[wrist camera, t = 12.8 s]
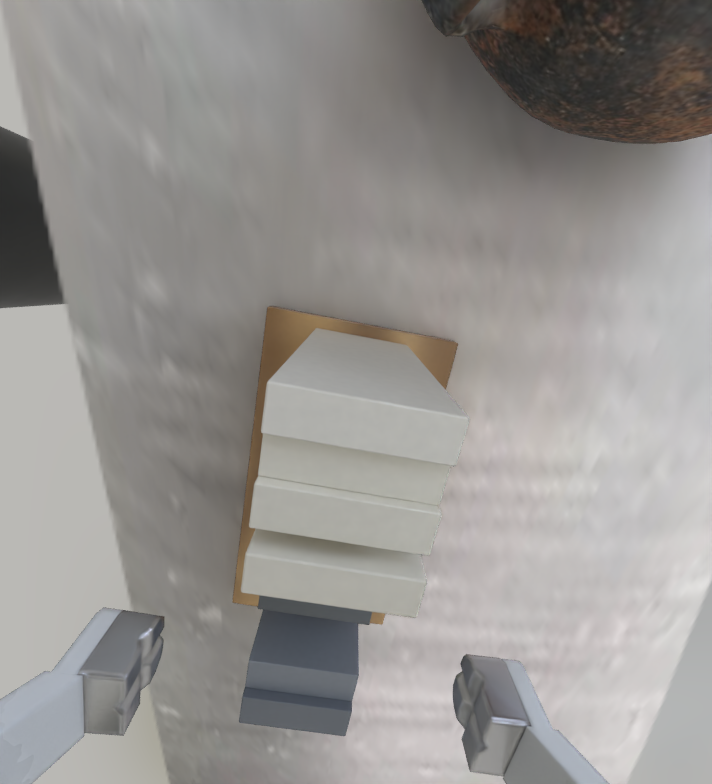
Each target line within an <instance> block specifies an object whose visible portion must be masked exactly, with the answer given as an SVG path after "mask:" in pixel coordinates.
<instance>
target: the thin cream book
mask: <svg viewBox="0 0 712 784" xmlns="http://www.w3.org/2000/svg"><path fill="white" fill-rule="evenodd" d="M426 585H427V579H426V575H425V570H424V566H423V562H422V558H421V555H419V554H413V553H407V552H400V551H394V550H388V549H382V548H375V547H369V546H363V545H356V544H350V543H344V542H337V541H331V540H325V539H318V538H312V537H306V536H299V535H293V534H287V533H281V532H274V531H268V530H262V529H255V531H254V534H253V536H252V539H251V541H250V544H249V546H248V548H247V551H246V553H245V560H244V568H243V576H242V584H241V592H242V593H248V594H254V595H261V596H268V597H275V598H282V599H288V600H295V601H302V602H309V603H315V604H322V605H329V606H336V607H342V608H349V609H356V610H363V611H370V612H376V613H383V614H390V615H397V616H403V617H410V618H416V617H417V615H418V611H419V608H420V605H421V601H422V598H423V595H424V591H425V588H426Z"/></svg>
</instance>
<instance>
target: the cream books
mask: <svg viewBox="0 0 712 784" xmlns="http://www.w3.org/2000/svg"><path fill="white" fill-rule="evenodd" d="M469 420H470V418H469V416H468V415H467V414H466V413H465V412H464V411H463V410H462V408H461V407H460V406H459V405H458V404H457V403H456V401H455V400H454V399H453V398H452V397H451V396H450V394H449V393H448V392H447V391H446V390H445V389H444V387H443V386H442V385H441V384H440V383H439V382H438V381H437V379H436V378H435V377H434V376H433V375H432V374H431V372H430V371H429V370H428V369H427V368H426V367H425V365H424V364H423V363H422V362H421V361H420V360H419V358H418V357H417V356H416V355H415V354H414V353H413V352H412V350H411V349H410V348H409V347H408V346H407V345H404V344H399V343H393V342H388V341H383V340H378V339H372V338H367V337H362V336H357V335H351V334H346V333H341V332H336V331H330V330H325V329H320V328H316V329H315V330H314V331H313V332H312V333H311V334H310V335H309V337H308V338H307V339H306V340H305V341H304V342H303V343H302V344H301V345H300V346H299V348H298V349H297V350H296V351H295V352H294V353H293V354H292V355H291V356H290V357H289V359H288V360H287V361H286V362H285V363H284V364H283V365H282V366H281V367H280V368H279V370H278V371H277V372H276V373H275V374H274V375H273V376H272V377H271V378H270V379H269V381H268V382H267V386H266V394H265V402H264V410H263V418H262V426H261V433H263V438H262V446H261V454H260V462H259V469H258V477H257V479H256V481H255V483H254V489H253V497H252V505H251V513H250V521H249V527H250V528H255V529H262V530H268V531H274V532H281V533H287V534H293V535H299V536H306V537H312V538H318V539H325V540H331V541H337V542H344V543H350V544H356V545H363V546H369V547H375V548H382V549H388V550H394V551H400V552H407V553H413V554H419V555H426V556H429V555H430V553H431V549H432V546H433V543H434V539H435V536H436V533H437V529H438V526H439V522H440V519H441V516H442V513H441V511H440V508H439V505H440V502H441V498H442V495H443V492H444V488H445V485H446V481H447V478H448V475H449V471H450V468H451V466H453V467H454V466H456V464H457V461H458V457H459V454H460V451H461V447H462V444H463V441H464V437H465V434H466V430H467V427H468V424H469Z"/></svg>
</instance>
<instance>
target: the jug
mask: <svg viewBox="0 0 712 784" xmlns="http://www.w3.org/2000/svg"><path fill="white" fill-rule="evenodd" d="M422 2H423V5H424V7H425V9H426V11H427V13H428V15H429V16H430V18H431V20H432V21H433V23H434V25H435V27H436V28H437V29H438V30H440V31H441V32H442V33H443V34H444V35H445V36H457V37H463V36H464V37H465V38H466V40H467V42H468V44H469V45H470V47H471V49H472V50H473V52H474V53H475V55H476V56H477V57H478V59H479V60H480V62H481V63H482V65H483V66H484V67H485V69H486V70H487V71H488V73H489V74H490V75H491V76H492V77H493V78H494V80H495V81H496V82H497V83H498V84H499V85H500V87H501V88H502V89H503V90H504V91H505V92H506V94H507V95H508V96H509V97H510V98H511V99H512V100H513V101H514V102H516V103H517V104H518V105H519V106H520V107H521V108H522V109H523V110H525V111H526V112H527V113H528V114H530V115H531V116H532V117H534V118H536V119H538V120H540V121H542V122H544V123H546V124H548V125H550V126H552V127H554V128H556V129H559V130H561V131H564V132H567V133H571V134H575V135H580V136H584V137H589V138H594V139H600V140H606V141H612V142H622V143H634V144H656V143H667V142H677V141H683V140H688V139H692V138H696V137H700V136H704V135H708V134H712V0H422Z"/></svg>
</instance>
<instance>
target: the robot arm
mask: <svg viewBox="0 0 712 784" xmlns="http://www.w3.org/2000/svg"><path fill="white" fill-rule="evenodd" d="M163 628H164V617H163V616H157V615H151V614H145V613H138V612H132V611H126V610H118V609H111V608H102V609H101V610H100V611H99V612H97V613H96V614H95V616H94V617H93V618H92V620H91V621H90V622H89V623H88V625H87V626H86V627H85V629H84V630H83V631H82V632H81V634H80V635H79V637H78V638H77V639H76V640H75V642H74V643H73V644H72V645H71V647H70V648H69V649H68V651H67V652H66V653H65V655H64V656H63V657H62V658H61V660H60V661H59V662H58V664H57V665H56V666H55V668H54V669H53V670H52V671H51V672H49V671H44V672H43V673H41V674H39V675H38V676H36V677H35V678H33V679H32V680H30V681H28V682H27V683H25V684H24V685H22V686H21V687H19V688H17V689H16V690H14V691H12V692H11V693H9V694H8V695H6V696H5V697H3V698H1V699H0V784H32V783H33V782H35V781H36V780H37V779H38V778H39V777H40V776H41V775H42V774H43V773H44V772H45V771H46V770H48V769H49V768H50V767H51V766H52V765H53V764H54V763H55V762H56V761H57V760H59V759H60V758H61V757H62V756H63V755H64V754H65V753H66V752H67V751H68V750H69V749H71V748H72V747H73V746H74V745H75V744H76V743H77V742H78V741H79V740H80V739H81V738H83V737H84V733H92V734H106V735H107V734H108V735H122V736H123V735H124V734H125V732H126V730H127V728H128V726H129V724H130V722H131V720H132V718H133V716H134V714H135V712H136V710H137V708H138V706H139V704H140V691H141V690H142V689H143V688H145V687H146V686H147V685H148V684H150V682H151V680H152V678H153V676H154V674H155V672H156V669H157V666H158V663H159V661H160V658H161V654H162V649H163V638H162V637H161V636H160V633H161V632H162V630H163ZM461 667H462V672H461V673H459V674H458V675H456V678H455V681H454V684H453V703H454V709H455V714H456V718H457V720H458V721H459V722H460V723H461V725H462V726H463V727H464V729H465V731H464V734H463V737H462V742H463V746H464V750H465V754H466V758H467V762H468V766H469V770H470V772H475V773H482V774H489V775H497V776H504V777H503V780H504V781H505V783H506V784H609V783H608V782H607V781H606V780H605V779H604V777H603V776H602V775H601V774H600V773H599V772H598V771H597V770H596V769H595V768H594V767H593V766H592V765H591V764H590V763H589V762H588V761H587V760H586V759H585V758H584V757H583V755H582V754H581V753H580V752H579V751H578V750H577V749H576V748H575V747H574V746H573V745H572V744H571V743H570V742H569V741H568V740H567V739H566V738H565V737H564V736H563V734H562V733H561V732H560V731H559V730H555V729H552V726H551V724H550V722H549V720H548V718H547V716H546V714H545V711H544V709H543V707H542V705H541V703H540V701H539V698H538V696H537V694H536V692H535V690H534V688H533V686H532V683H531V681H530V679H529V677H528V675H527V673H526V670H525V668H524V666H523V665H522V663H521V662H520V661H516V660H508V659H500V658H496V657H487V656H478V655H469V654H466V655H465V656H464V657H463V659H462V661H461Z"/></svg>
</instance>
